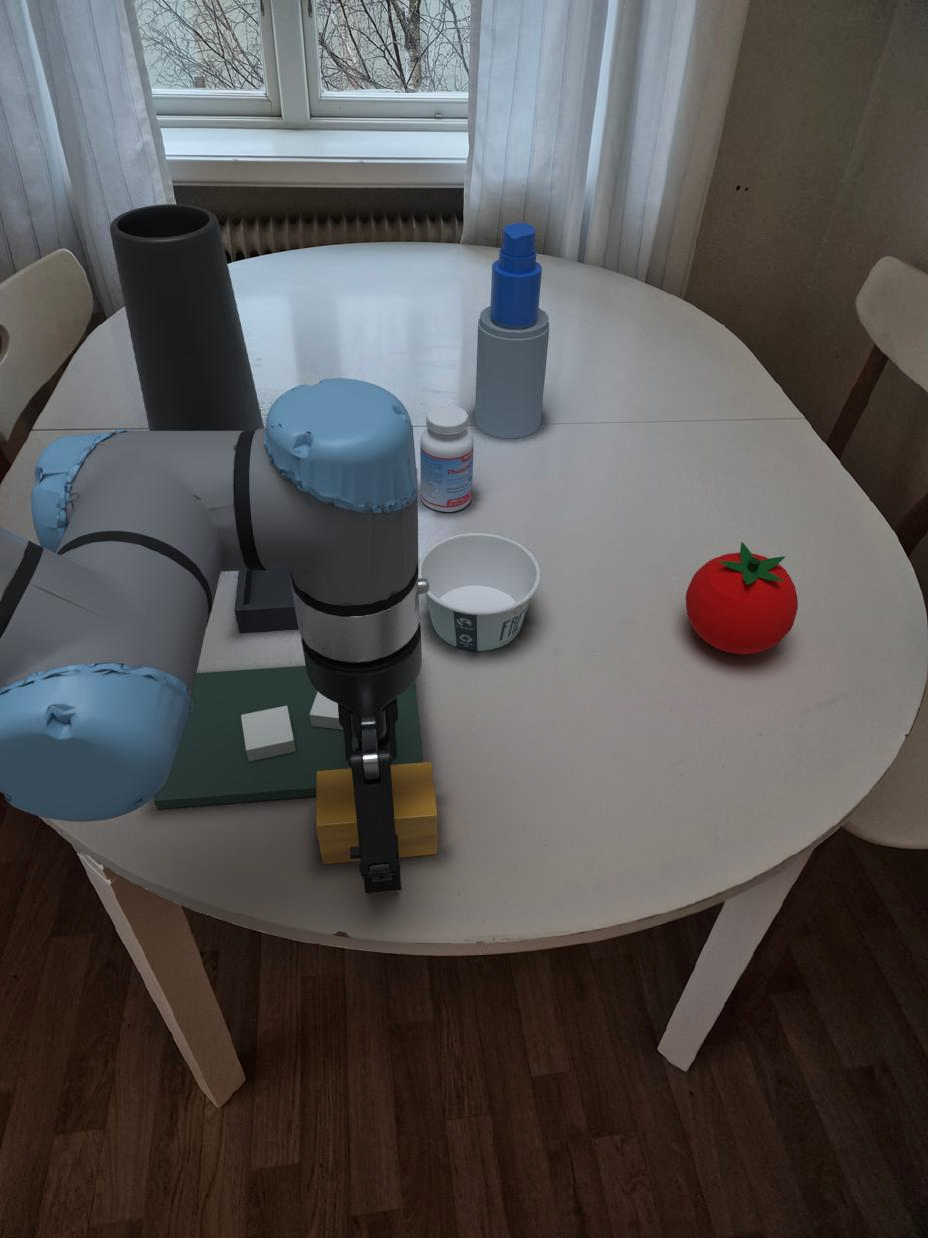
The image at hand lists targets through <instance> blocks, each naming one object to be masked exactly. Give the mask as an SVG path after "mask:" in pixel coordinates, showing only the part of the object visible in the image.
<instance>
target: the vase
mask: <svg viewBox="0 0 928 1238" xmlns="http://www.w3.org/2000/svg"><path fill="white" fill-rule="evenodd" d="M109 233H110V237H111V243H112V249H113V252H114V253H113V254H114V259H115V263H116V269H117V273H118V279H119V284H120V287H121V295H122V298H123V304H124V308H125V314H126V315H125V316H126V319H127V324H128V330H129V335H130V340H131V344H132V349H133V354H134V360H135V365H136V371H137V374H138V380H139V384H140V391H141V394H142V395H141V396H142V400H143V404H144V409H145V414H146V415H145V416H146V420H147V425H148V431H256V430H257V429H265V425H264V421H263V417H262V411H261V407H260V402H259V399H258V393H257V390H256V384H255V379H254V375H253V372H252V368H251V367H252V366H251V362H250V358H249V354H248V350H247V344H246V341H245V335H244V331H243V327H242V323H241V318H240V314H239V310H238V304H237V300H236V295H235V291H234V288H233V282H232V278H231V274H230V269H229V265H228V259H227V256H226V255H227V254H226V252H225V246H224V243H223V237H222V234H221V230H220V225H219V220H218V218H217V216H216V215H215V214H214V213H213V212H211V211H210V210H208V209H206V208H204V207H200V206H196V205H190V204H182V203H181V204H179V203H178V204H177V203H167V204H164V203H163V204H155V205H148V206H142V207H138V208H137V207H136V208H135V209H131V210H128V211H125V212H123V213H121V214H120V215H118V216H117V217H115V218H114V219H113V220H112V221H111V223H110V225H109Z"/></svg>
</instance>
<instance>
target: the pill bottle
mask: <svg viewBox="0 0 928 1238" xmlns="http://www.w3.org/2000/svg"><path fill="white" fill-rule="evenodd" d="M425 419H426V422H425V425H426V429H425V430H424V431H423V432H422V434H421V436H420V441H419V443H420V444H419V447H420V449H419V451H420V453H419V454H420V458H419V459H420V461H419V462H420V463H419V464H420V465H419V466H420V498H421V501H422V503H423V504H424V505H425V506H426V507H428V508H429V509H433V510H434V511H438V512H444V513H451V512H456V511H460V510H462V509H464V508H465V507H467V506H468V505H469V504H470V503H471V500H472V497H473V475H474V473H473V472H474V448H475V447H474V437H473V435H472V433H471V431H470V430H469V429H468V426H469V415H468V412H467V411H466V410H465V409H464V408H462V407H459V406H457V405H452V404H451V405H450V404H442V405H441V404H440V405H437V406H434V407H431V408H430V409H429V410H428V411H427V413H426V418H425Z"/></svg>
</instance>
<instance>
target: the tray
mask: <svg viewBox="0 0 928 1238" xmlns="http://www.w3.org/2000/svg"><path fill="white" fill-rule="evenodd" d="M290 579H291V574H290V569H289V568H274V569H266V570H265V571H238V575H237V585H236V594H235V601H234V603H235V604H234V610H233V611H234V615H235V621H236V624H237V628H238V633H240V634H244V633H260V632H274V631H289V630H290V631H291V630H299V629H298V623H297V617H296V611H295V605H294V599H293V593H292V587H291V581H290Z"/></svg>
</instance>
